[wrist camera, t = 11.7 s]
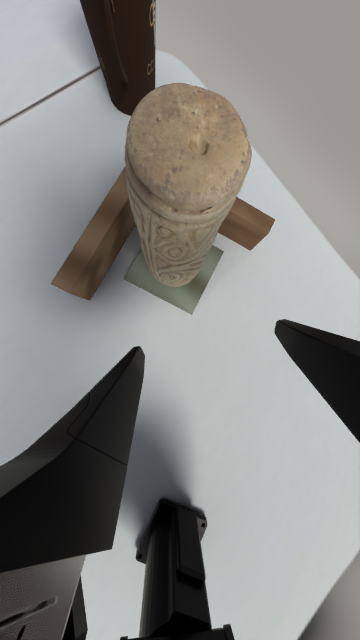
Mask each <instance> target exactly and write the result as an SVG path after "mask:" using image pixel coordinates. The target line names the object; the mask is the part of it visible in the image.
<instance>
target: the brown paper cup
mask: <svg viewBox="0 0 360 640" xmlns="http://www.w3.org/2000/svg"><path fill="white" fill-rule="evenodd" d="M80 3H81V6H82V9H83V12H84V15H85V18H86V22H87V25H88V28H89V31H90V34H91V37H92V40H93V44H94V47H95V50H96V53H97V56H98V59H99V63H100V66H101V69H102V72H103V75H104V78H105V81H106V85H107V88H108V91H109V94H110V97H111V100H112V102H113V104H114V105H115V107H116V108H117V109H118V110H120V111H121V112H123V113H124V114H127V115H131V116H132V114H133V112H134V110H135V108H136V107H137V105H138V104H139V102H140V101H141V100H142V99H143V98H144V97H145V96H146V95H147V94H148V93H150V92H151V91H153V90H154V89H155V27H156V25H155V24H156V21H155V19H156V0H80Z"/></svg>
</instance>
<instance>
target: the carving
mask: <svg viewBox="0 0 360 640" xmlns="http://www.w3.org/2000/svg"><path fill="white" fill-rule="evenodd" d="M251 156H252V151H251V146H250V143H249V141H248V139H247V133H246V129H245V126H244V124H243V122H242V120H241V118H240V116H239V114H238V113H237V111H236V110H235V109H234V107H233V106H232V104H231V103H230V102H229V101H228V100H227V99H225V98H224V97H223V96H221V95H219V94H217V93H215V92H212V91H210V90H206V89H204V88H201V87H197V86H191V85H188V84H185V83H172V84H168V85H163V86H160V87H158V88H156V89H154V90H153V91H151V92H150V93H148V94H147V95H146V96H145V97H144V98H143V99H142V100H141V101H140V102H139V104H138V105H137V107H136V108H135V110H134V112H133V114H132V116H131V119H130V121H129V124H128V128H127V138H126V146H125V162H126V173H125V174H126V181H127V190H128V195H129V200H130V206H131V210H132V213H133V216H134V221H135V224H136V226H137V228H138V229H137V230H138V234H139V236H140V242H141V248H142V252H143V254H144V258H145V261H146V264H147V267H148V269H149V271H150V273H151V275H152V276H153V277H154V278H155V279H156V280H157V281H159V282H161V283H162V284H164V285H167V286H170V287H179V286H183V285H185V284H188V283H189V282H190V281H191V280H192V279H193V278H194V277H195V276H196V275H197V274H198V272H199V271H200V270H201V268H202V265H203V264H204V263H205V261H204V259H206V257H207V255H206V254H208V252H209V250H210V249H211V247H212V244H213V242H214V240H215V237H216V234H217V231H218V229H219V227H220V225H221V223H222V222H223V220H224V219H225V217H226V216H227V215H228V213H229V211H230V209H231V207H232V205H233V203H234V201H235V199H236V197H237V195H238V193H239V191H240V189H241V187H242V184H243V182H244V179H245V177H246V174H247V172H248V169H249V166H250V162H251Z"/></svg>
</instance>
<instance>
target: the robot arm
mask: <svg viewBox="0 0 360 640" xmlns="http://www.w3.org/2000/svg"><path fill="white" fill-rule="evenodd" d="M275 335H276V336H277V338H278V339H279V341H280V342H281V344H282V346H283V347H284V349H285V350H286V352H287V353H288V355H289V356H290V357H291V358H292V360H293V361H294V362H295V363H296V365H297V366H298V367H299V368H300V370H301V371H302V372H303V373H304V375H305V376H306V377H307V378H308V379H309V381H310V382H311V383H312V384H313V386H314V387H315V388H316V389H317V391H318V392H319V393H320V394H321V396H322V397H323V398H324V399H325V400H326V402H327V403H328V404H329V405H330V407H331V408H332V409H333V410H334V412H335V413H336V414H337V415H338V417H339V418H340V419H341V420H342V421H343V423H344V424H345V425H346V426H347V428H348V429H349V430H350V431H351V433H352V434H353V435H354V436H355V438H356V439H357V440H358V441H359V442H360V341H357V340H353V339H350V338H346V337H343V336H340V335H336V334H333V333H330V332H326V331H323V330H320V329H316V328H313V327H309V326H306V325H303V324H299V323H296V322H293V321H289V320H286V319H283V320H278V321H277V322H276V326H275ZM144 363H145V355H144V352H143V351H142V349H141V347H140V346H137V347H133V348H132V349H131V350H130V351H129V352H128V353H127V354H126V355H125V356H124V357H123V358H122V359H121V360H120V361H119V362H118V363H117V364H116V365H115V366H114V367H113V368H112V369H111V370H110V371H109V372H108V373H107V374H106V375H105V376H104V377H103V378H102V379H101V380H100V381H99V382H98V383H97V384H96V385H95V386H94V387H93V388H92V389H91V390H90V392H88V393H87V394H86V395H85V396H84V397H83V398H82V399H81V400H80V401H79V402H78V403H77V404H76V405H75V406H74V407H73V408H72V409H71V410H70V411H69V412H68V413H67V414H66V415H64V416H63V417H62V418H61V419H60V420H59V421H58V422H57V423H56V424H55V425H53V426H52V427H51V428H50V429H49V430H48V431H47V432H46V433H45V434H44V435H42V436H41V437H40V438H39V439H38V440H37V441H36V442H35V443H34V444H32V445H31V446H30V447H29V448H28V449H26V450H25V451H24V452H23V453H21V454H20V455H18V456H17V457H15V458H14V459H12V460H11V461H9V462H7V463H5V464H4V465H2V466H0V640H85V639H86V635H87V630H88V629H87V621H86V613H85V606H84V598H83V590H82V583H81V571H82V568H83V564H84V561H85V557H86V555H87V554H91V553H96V552H101V551H105V550H110V549H112V546H113V541H114V536H115V531H116V525H117V520H118V514H119V509H120V503H121V498H122V492H123V487H124V482H125V476H126V471H127V465H128V459H129V454H130V448H131V443H132V438H133V432H134V427H135V421H136V416H137V410H138V405H139V399H140V394H141V389H142V383H143V376H144ZM206 527H207V520H206V517H205V516H203V515H201V514H198V513H196V512H194V511H192V510H189V509H187V508H185V507H182V506H180V505H178V504H176V503H173V502H171V501H169V500H166V499H161V500H160V501H159V503H158V505H157V507H156V509H155V511H154V513H153V516H152V518H151V520H150V522H149V524H148V526H147V529H146V531H145V533H144V535H143V537H142V539H141V542H140V544H139V546H138V548H137V551H136V560H137V561H139V562H142V563H144V564H146V568H145V579H144V589H143V600H142V610H141V621H140V631H139V638H133V639H128V636H125V637H121V638H120V640H234V636H233V633H232V629H231V625H230V624H226V625H223V628H216V629H211V627H212V626H211V619H210V612H209V606H208V599H207V592H206V585H205V579H206V578H205V570H204V563H203V556H202V549H201V543H200V542H201V539H202V537H203V535H204V532H205V530H206Z"/></svg>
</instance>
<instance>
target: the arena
mask: <svg viewBox="0 0 360 640" xmlns="http://www.w3.org/2000/svg"><path fill="white" fill-rule="evenodd" d="M125 173H126V167H125V168H124V170H123V171H122V173H121V174H120V176H119V178H118V179H117V181H116V182H115V184H114V185H113V187H112V188H111V190H110V192H109V193H108V195H107V196H106V198H105V199H104V201H103V203H102V204H101V206H100V207H99V209H98V210H97V212H96V214H95V215H94V217H93V218H92V220H91V221H90V223H89V225H88V226H87V228H86V229H85V231H84V232H83V234H82V235H81V237H80V239H79V240H78V242H77V243H76V245H75V246H74V248H73V250H72V251H71V253H70V254H69V256H68V257H67V259H66V261H65V262H64V264H63V265H62V267H61V268H60V270H59V272H58V273H57V275H56V276H55V278H54V279H53V281H52V283H51V284H52V285H54V286H56V287H58V288H60V289H62V290H64V291H66V292H68V293H71V294H73V295H76V296H79V297H82V298H85V299H88V300H90V299H91V298H92V296H93V294H94V293H95V291H96V289H97V288H98V286H99V284H100V283H101V281H102V279H103V278H104V276H105V274H106V273H107V271H108V269H109V268H110V266H111V264H112V263H113V261H114V259H115V258H116V256H117V254H118V253H119V251H120V249H121V248H122V246H123V244H124V242H125V241H126V239H127V237H128V236H129V234H130V232H131V231H132V229H133V227H134V226H135V221H134V216H133V213H132V210H131V206H130V200H129V195H128V190H127V181H126V174H125ZM274 221H275V219H273V218H272V217H270V216H268V215H266V214H265V213H263V212H261V211H260V210H258V209H256V208H255V207H253V206H251V205H249V204H248V203H246V202H244V201H243V200H241V199H239V198H238V197H236V199H235V201H234V203H233V205H232V207H231V209H230V211H229V213H228V215H227V216H226V217H225V219H224V220H223V222H222V223H221V225H220V227H219V229H218V231H217V232H219V233H221V234H222V235H224V236H226V237H228V238H229V239H231V240H233V241H235V242H236V243H238V244H240V245H242V246H243V247H245V248H247V249H249V250H251V249H253V248H254V247H255V246H256V245H257V244H258V243H259V242H260V241H261V240H262V239H263V238H264V237H265V236H266V235H267V234H268V233H269V232H270V230H271V227H272V225H273V223H274ZM223 252H224V251H222V250H220V249H218V248H217V247H215V246H213V245H212V247H211V249H210V250H209V252H208V254H206V255H207V257H206V259H204V261H205V263H204V264H203V265H202V268H201V270H200V271H199V272H198V274H197V275H196V276H195V277H194V278H193V279H192V280H191V281H190V282H189V283H188V284H185V285H183V286H179V287H170V286H167V285H164V284H162V283H161V282H159V281H157V280H156V279H155V278H154V277H153V276H152V275H151V273H150V271H149V269H148V267H147V264H146V261H145V258H144V254H143V252H142V248H141V250H140V252H139V253H138V255H137V257H136V259H135V260H134V262H133V264H132V265H131V267H130V269H129V271H128V272H127V274H126V276H125V278H124V279H125V280H127V281H129V282H131V283H133V284H134V285H136V286H138V287H140V288H142V289H144V290H146V291H148V292H150V293H152V294H154V295H155V296H157V297H159V298H161V299H163V300H165V301H167V302H169V303H171V304H173V305H174V306H176V307H178V308H180V309H182V310H184V311H186V312H188V313H190V314H192V313H193V311H194V309H195V307H196V305H197V303H198V301H199V299H200V297H201V295H202V293H203V291H204V289H205V287H206V286H207V284H208V282H209V280H210V278H211V276H212V274H213V272H214V270H215V268H216V266H217V264H218V262H219V260H220V258H221V256H222V254H223Z"/></svg>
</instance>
